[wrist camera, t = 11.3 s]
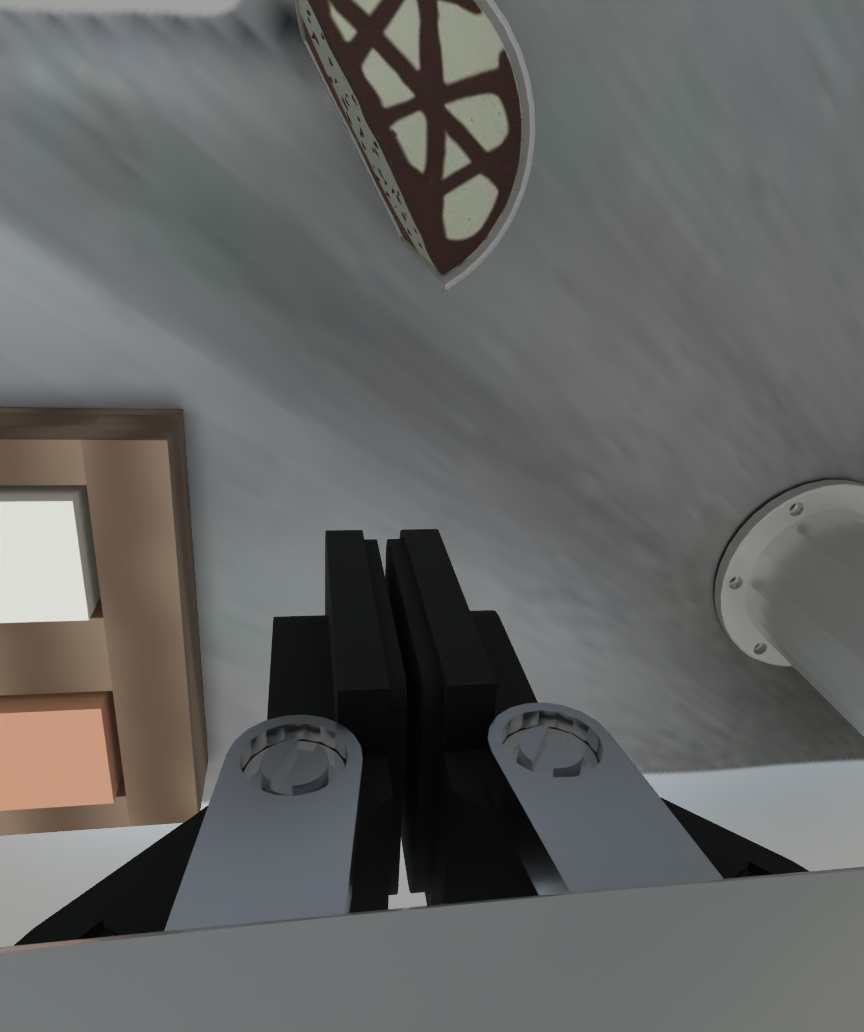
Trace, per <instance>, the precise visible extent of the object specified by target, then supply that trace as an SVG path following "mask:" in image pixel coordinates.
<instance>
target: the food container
mask: <svg viewBox="0 0 864 1032" xmlns="http://www.w3.org/2000/svg"><path fill="white" fill-rule="evenodd" d="M294 4H295V9H296V14H297V19H298V24H299V29H300V34H301V38H302V40H303V42H304V44H305V46H306V48H307V50H308V52H309V54H310V56H311V58H312V60H313V62H314V64H315V66H316V68H317V70H318V72H319V74H320V76H321V78H322V80H323V83H324V85H325V87H326V89H327V91H328V93H329V95H330V97H331V99H332V101H333V103H334V105H335V107H336V109H337V111H338V113H339V115H340V117H341V119H342V121H343V123H344V125H345V127H346V129H347V131H348V133H349V135H350V137H351V139H352V141H353V143H354V145H355V147H356V149H357V151H358V153H359V155H360V157H361V159H362V161H363V163H364V166H365V168H366V170H367V172H368V174H369V176H370V178H371V180H372V182H373V184H374V186H375V188H376V190H377V192H378V194H379V196H380V198H381V200H382V202H383V204H384V206H385V208H386V210H387V212H388V214H389V216H390V218H391V220H392V222H393V224H394V226H395V228H396V230H397V232H398V234H399V236H400V238H401V240H402V242H403V243H404V244H405V245H406V246H407V247H408V248H409V249H410V250H411V251H412V252H413V253H414V254H415V256H416V257H417V258H418V259H419V260H420V261H421V262H422V263H423V264H424V265H425V266H426V267H427V268H428V269H429V270H430V271H431V272H432V273H433V275H434V276H435V277H436V278H437V279H438V280H439V281H440V282H441V283H442V284H443V286H444V287H442V288H441V289H442V291H443V292H445V291H446V290H448V289H449V288H451V287H452V286H454V285H455V284H457V283H458V282H460V281H461V280H463V279H464V278H466V277H467V276H468V275H469V274H470V273H471V272H472V271H473V270H474V269H476V268H477V267H478V266H479V265H480V264H481V263H482V262H483V261H484V260H485V259H486V258H487V257H488V255H489V254H490V253H491V252H492V251H493V249H494V248H495V247H496V246H497V245H498V243H499V242H500V241H501V239H502V238H503V236H504V234H505V233H506V231H507V229H508V228H509V226H510V224H511V223H512V221H513V219H514V217H515V215H516V213H517V210H518V208H519V205H520V203H521V201H522V198H523V196H524V194H525V190H526V186H527V183H528V179H529V175H530V171H531V168H532V161H533V153H534V144H535V107H534V100H533V94H532V87H531V81H530V77H529V74H528V70H527V67H526V64H525V60H524V57H523V54H522V50H521V48H520V46H519V44H518V42H517V40H516V38H515V35H514V33H513V31H512V29H511V27H510V25H509V23H508V21H507V20H506V18H505V17H504V15H503V14H502V12H501V11H500V9H499V8H498V6H497V5H496V3H495V1H494V0H294Z"/></svg>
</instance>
